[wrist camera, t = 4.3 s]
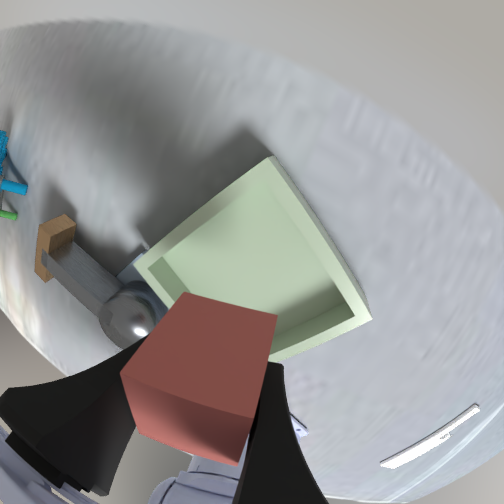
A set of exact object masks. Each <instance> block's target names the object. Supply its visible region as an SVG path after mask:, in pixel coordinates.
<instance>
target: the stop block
mask: <svg viewBox="0 0 504 504" xmlns="http://www.w3.org/2000/svg"><path fill="white" fill-rule="evenodd" d="M277 317H278V315H276V314H271V313H267V312H262V311H258V310H254V309H250V308H246V307H242V306H238V305H234V304H230V303H226V302H222V301H218V300H214V299H210V298H206V297H203V296H199V295H195V294H192V293H188V292H183V293H182V294H181V296H180V297H179V298H178V299H177V300H176V302H175V303H174V304H173V305H172V307H171V308H170V309H169V310H168V312H167V313H166V314H165V315H164V317H163V318H162V319H161V320H160V322H159V323H158V324H157V325H156V327H155V328H154V329H153V331H152V332H151V333H150V334H149V336H148V337H147V338H146V339H145V341H144V342H143V343H142V345H141V346H140V347H139V348H138V350H137V351H136V352H135V354H134V355H133V356H132V357H131V359H130V360H129V361H128V363H127V364H126V365H125V367H124V368H123V369H122V370H121V372H120V376H121V379H122V383H123V386H124V390H125V393H126V396H127V399H128V403H129V406H130V409H131V412H132V415H133V418H134V420H135V423H136V426H137V429H138V431H139V433H140V434H142V435H145V436H147V437H149V438H151V439H154V440H156V441H159V442H161V443H164V444H166V445H169V446H171V447H174V448H177V449H179V450H182V451H185V452H188V453H191V454H194V455H197V456H200V457H204V458H207V459H210V460H214V461H217V462H221V463H225V464H228V465H232V466H238V463H239V460H240V457H241V455H242V452H243V449H244V446H245V443H246V440H247V437H248V434H249V431H250V428H251V426H252V423H253V419H254V416H255V412H256V408H257V404H258V400H259V396H260V392H261V388H262V384H263V379H264V375H265V371H266V367H267V362H268V358H269V354H270V349H271V345H272V340H273V336H274V331H275V326H276V322H277Z"/></svg>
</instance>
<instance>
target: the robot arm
mask: <svg viewBox="0 0 504 504" xmlns="http://www.w3.org/2000/svg"><path fill="white" fill-rule="evenodd" d="M149 334H150V333H149ZM149 334H148V335H146V336H145V337H143V338H141V339H140V340H138V341H137V342H135V343H134V344H132V345H131V346H129V347H127V348H126V349H124V350H122V351H121V352H119V353H118V354H116V355H114V356H112V357H111V358H109V359H107V360H105V361H103V362H101V363H99V364H98V365H96V366H93V367H91V368H89V369H87V370H85V371H82V372H80V373H77V374H75V375H72V376H69V377H66V378H63V379H59V380H57V381H52V382H48V383H44V384H39V385H33V386H25V387H14V388H8V389H7V390H6V391H5V392H4V393H3V394H2V396H1V397H0V417H1V418H2V419H3V420H4V422H5V423H6V424H7V425H8V426H9V427H10V429H11V430H12V432H11V434H10V435H9V434H8V433H7V432H6V431H5V430H4V429H3V428H2V427H1V426H0V499H1V501H2V502H3V503H4V504H69V503H67V502H66V501H64V500H63V499H61V498H60V497H58V496H57V495H55V494H54V493H52V491H51V487H52V488H53V489H55V490H56V491H58V492H59V493H60V494H62V495H63V496H64V497H66V498H67V499H69V500H70V501H72V502H73V503H75V504H98V503H97V502H95V501H93V500H91V499H90V498H88V497H87V496H85V495H84V494H82V493H80V491H81V489H83V490H84V491H86V492H88V493H89V492H90V490H91V491H93V492H94V493H96V494H98V495H99V496H107V495H109V491H110V488H111V485H112V482H113V479H114V476H115V473H116V470H117V468H118V465H119V463H120V460H121V458H122V455H123V453H124V451H125V448H126V446H127V444H128V442H129V440H130V438H131V435H132V433H133V431H134V429H135V427H136V423H135V420H134V418H133V415H132V412H131V409H130V406H129V403H128V399H127V396H126V393H125V390H124V386H123V383H122V379H121V376H120V372H121V370H122V369H123V368H124V367H125V365H126V364H127V363H128V361H129V360H130V359H131V357H132V356H133V355H134V354H135V352H136V351H137V350H138V348H139V347H140V346H141V345H142V343H143V342H144V341H145V339H146V338H147V337H148V336H149ZM306 435H308V430H307V429H306V428H304V427H303V426H302V425H301V424H300V423H299V422H298V421H297V420H295V419H294V418H293V417H292V416H291V415H290V412H289V407H288V403H287V398H286V392H285V384H284V366H283V365H282V364H279V363H275V362H270V361H268V362H267V367H266V371H265V375H264V379H263V384H262V388H261V392H260V396H259V400H258V404H257V408H256V412H255V416H254V419H253V423H252V426H251V428H250V431H249V434H248V437H247V440H246V443H245V446H244V449H243V452H242V455H241V457H240V460H239V463H238V466H232V465H228V464H225V463H221V462H217V461H214V460H210V459H207V458H204V457H200V456H197V455H193V458H192V461H191V463H190V465H189V467H188V470H187V472H184V471H180V473H179V475H178V477H177V478H175V477H170V478H168V479H167V480H165V481H162V482H161V483H159V484H158V486H157V487H156V488H155V489H154V491H153V492H152V494H151V496H150V498H149V501H148V503H147V504H329V503H328V502H327V500H326V498H325V497H324V495H323V494H322V492H321V490H320V488H319V487H318V485H317V483H316V481H315V479H314V477H313V475H312V473H311V471H310V469H309V467H308V465H307V463H306V461H305V458H304V456H303V454H302V451H301V448H300V446H299V445H300V437H302V436H306ZM50 486H51V487H50Z"/></svg>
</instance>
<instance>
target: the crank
mask: <svg viewBox="0 0 504 504" xmlns="http://www.w3.org/2000/svg"><path fill="white" fill-rule="evenodd" d="M76 225H77V224H76V223H75V222H74V221H72V220H71V219H70V218H69V217H68V216H67V215H66V214H63V215H61V216H59V217H56V218H54V219H52V220H49V221H47V222H45V223H43V224H40V225H39V229H38V238H37V247H36V258H35V272H36V274H37V275H38V276H39V277H40V278H41V279H42V280H43V281H44V282H45V283H46V282H47V281H49V280H50V279H52V278H53V277H55V278H56V279H57V280H58V281H59V282H60V283H61V284H62V285H63V286H64V287H65V288H66V289H67V290H68V291H69V292H70V293H71V294H72V295H74V296H75V297H76V298H77V299H78V300H79V301H80V302H81V303H82V304H83V305H84V306H86V307H87V308H88V309H89V310H90V311H91V312H92V313H94V314H95V315H96V316H97V317H98V318H99V322H100V324H101V327H102V329H103V330H104V332H105V334H106V335H107V336H108V337H109V338H110V340H111V341H112V342H114V343H115V344H116V345H117V346H119V347H120V348H122V349H126V348H127V347H129V346H131V345H132V344H134V343H135V342H137V341H138V340H140V339H141V338H143V337H145V336H146V335H148V334H149V333H151V332H152V331H153V329H154V328H155V327H156V325H157V324H158V323H159V322H160V320H161V319H162V318H163V317H164V315H165V314H166V313H167V312H168V307H167V306H166V305H165V304H164V302H163V301H162V300H161V299H160V298H159V296H158V295H157V294H156V293H155V292H154V290H153V289H152V288H151V287H150V285H149V284H147V283H145V282H142V281H138V280H134V281H130V282H128V283H127V284H126V285H124V284H123V283H122V282H120V281H119V280H118V279H117V278H116V277H114V276H113V275H112V274H111V273H109V272H108V271H107V270H106V269H105V268H103V267H102V266H101V265H100V264H99V263H98V262H96V261H95V260H94V259H93V258H92V257H91V256H90V255H88V254H87V253H86V252H85V251H84V250H83V249H82V248H81V247H79V246H78V245H77V244H76V243H75V242H74V241H73V237H74V233H75V229H76Z"/></svg>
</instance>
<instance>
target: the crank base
mask: <svg viewBox="0 0 504 504" xmlns="http://www.w3.org/2000/svg"><path fill="white" fill-rule="evenodd" d="M146 252H147V250H145V251H144V252H142V253H141V254H140V255H139V256H138V257H136V258H135V259H134V260H133V261H132V262H131V263H130V264H129V265H128V266H127V267H125V268H124V269H123V270H122V271H121V272H120V273H119V274H118V275H117V276H116V278H117V279H118V280H119V281H120V282H122V283H123V284H124V285H126V284H127V283H128V282H130V281H134V280H138V281H142V282H145V283H147V282H146V280H145V279H144V278H143V277H142V275H141V274H140V273H139V271H138V270H137V269H136V267H135V266H134V265H133V264H134V263H135V262H136V261H137V260H138V259H140V258H141V257H142V256H143V255H144V254H145V253H146ZM147 284H148V283H147ZM168 310H169V308H168Z"/></svg>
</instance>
